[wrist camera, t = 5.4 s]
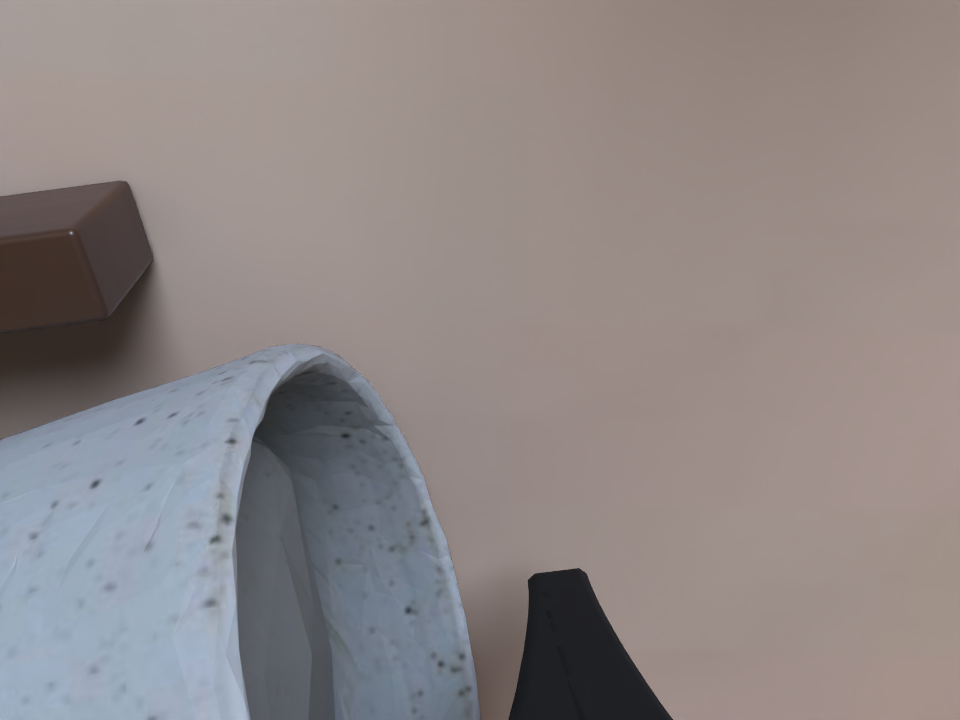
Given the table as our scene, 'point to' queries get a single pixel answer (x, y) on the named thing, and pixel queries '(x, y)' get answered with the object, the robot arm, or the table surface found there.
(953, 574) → the table surface
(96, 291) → the frame
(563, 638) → the robot arm
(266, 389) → the ceramic mug
